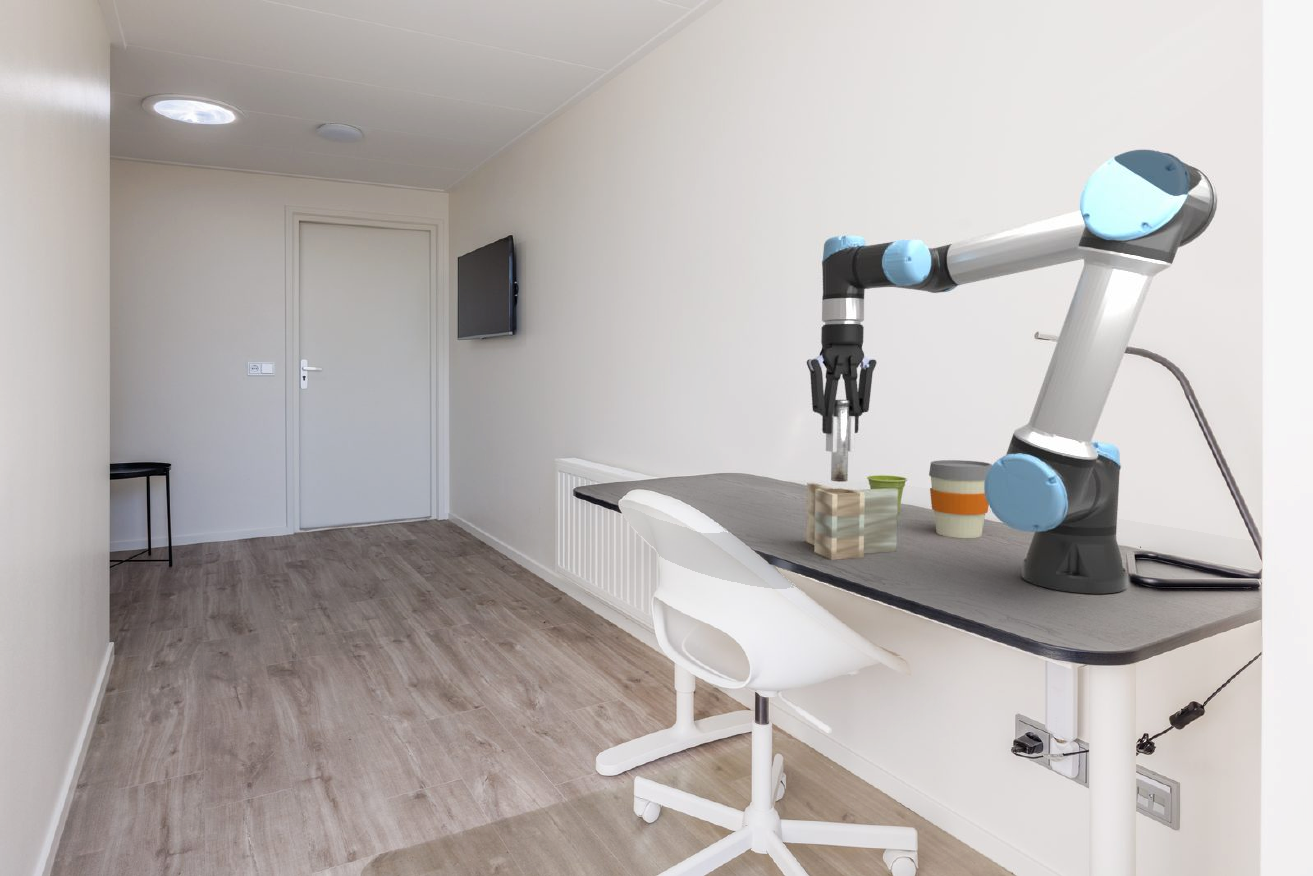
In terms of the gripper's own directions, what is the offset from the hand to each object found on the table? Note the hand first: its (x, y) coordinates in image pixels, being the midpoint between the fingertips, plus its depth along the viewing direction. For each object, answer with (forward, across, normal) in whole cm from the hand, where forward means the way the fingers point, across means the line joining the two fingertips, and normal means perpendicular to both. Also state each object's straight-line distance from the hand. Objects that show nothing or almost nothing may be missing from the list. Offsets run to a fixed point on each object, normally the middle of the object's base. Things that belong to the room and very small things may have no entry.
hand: (839, 450), depth 146 cm
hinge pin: (+6, 0, 0) cm, 6 cm away
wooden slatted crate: (+20, -4, -4) cm, 20 cm away
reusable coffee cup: (+20, -34, -10) cm, 41 cm away
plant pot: (+20, -33, -36) cm, 53 cm away
